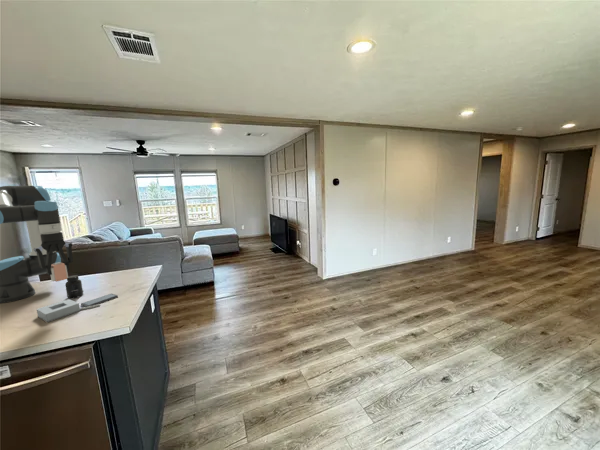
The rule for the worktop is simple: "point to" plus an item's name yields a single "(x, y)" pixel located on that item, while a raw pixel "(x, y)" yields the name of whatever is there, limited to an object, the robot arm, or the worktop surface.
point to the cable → (90, 307)
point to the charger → (59, 271)
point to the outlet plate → (58, 310)
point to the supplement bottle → (74, 287)
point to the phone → (99, 300)
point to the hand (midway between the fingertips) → (60, 279)
